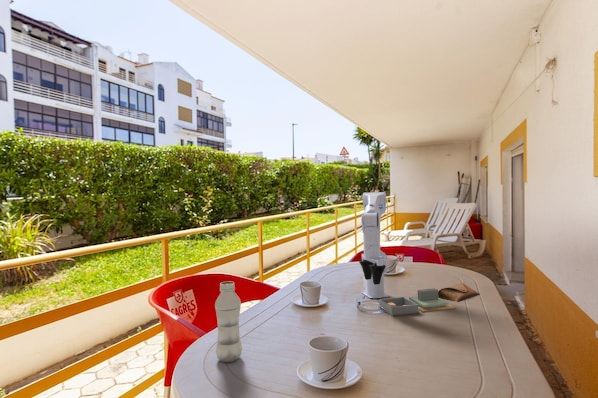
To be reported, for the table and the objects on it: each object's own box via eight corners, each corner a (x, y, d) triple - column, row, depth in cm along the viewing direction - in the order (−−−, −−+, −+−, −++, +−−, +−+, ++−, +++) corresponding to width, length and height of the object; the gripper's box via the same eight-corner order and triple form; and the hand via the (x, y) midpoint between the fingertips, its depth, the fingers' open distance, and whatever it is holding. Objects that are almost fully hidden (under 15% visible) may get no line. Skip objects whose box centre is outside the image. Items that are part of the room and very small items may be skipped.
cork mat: (403, 301, 136) (403, 300, 136) (433, 298, 139) (433, 297, 139) (422, 312, 124) (422, 311, 124) (455, 308, 126) (455, 307, 126)
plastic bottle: (218, 354, 95) (215, 280, 95) (243, 353, 95) (241, 279, 95) (214, 366, 88) (211, 287, 88) (241, 364, 89) (239, 285, 89)
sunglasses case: (457, 302, 133) (448, 285, 136) (443, 308, 138) (434, 291, 141) (481, 293, 144) (472, 278, 146) (467, 299, 149) (459, 284, 151)
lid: (409, 301, 135) (408, 287, 135) (432, 298, 137) (432, 285, 137) (423, 309, 125) (423, 294, 125) (448, 306, 127) (448, 292, 127)
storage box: (379, 307, 130) (378, 299, 130) (403, 304, 132) (403, 296, 132) (392, 316, 120) (391, 307, 120) (418, 313, 123) (418, 304, 123)
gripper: (390, 247, 124) (391, 285, 124) (373, 242, 138) (374, 276, 139) (371, 248, 123) (372, 287, 123) (356, 243, 137) (357, 277, 137)
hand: (372, 281), depth 131 cm, fingers open, 7 cm apart
